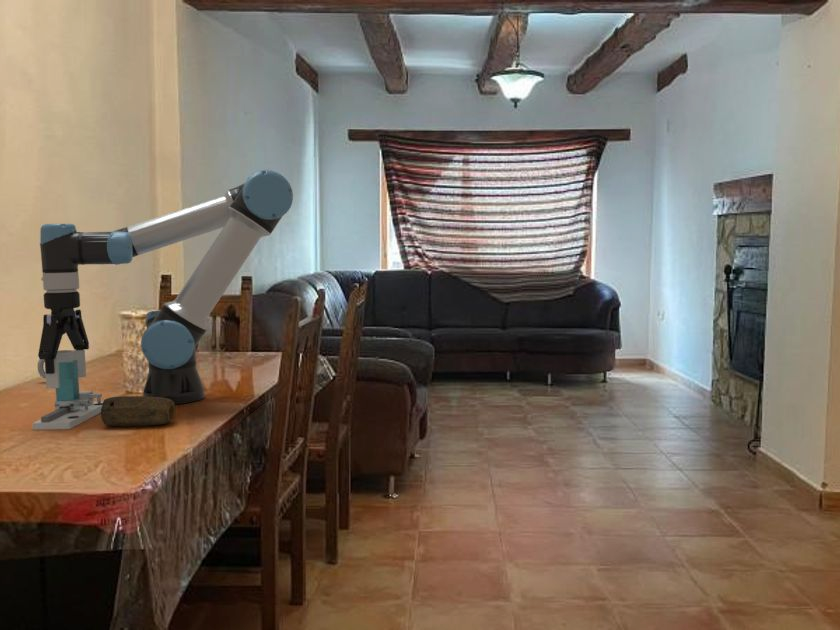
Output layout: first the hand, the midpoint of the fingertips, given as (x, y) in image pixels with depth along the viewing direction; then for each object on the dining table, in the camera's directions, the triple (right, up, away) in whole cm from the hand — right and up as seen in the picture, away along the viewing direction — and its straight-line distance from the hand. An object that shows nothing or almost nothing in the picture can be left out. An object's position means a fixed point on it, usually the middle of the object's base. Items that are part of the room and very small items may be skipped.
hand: (67, 382), depth 179 cm
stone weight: (+20, -9, -8) cm, 23 cm away
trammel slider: (+1, -6, +1) cm, 7 cm away
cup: (-25, -4, +49) cm, 55 cm away
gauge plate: (+2, -8, 0) cm, 8 cm away
